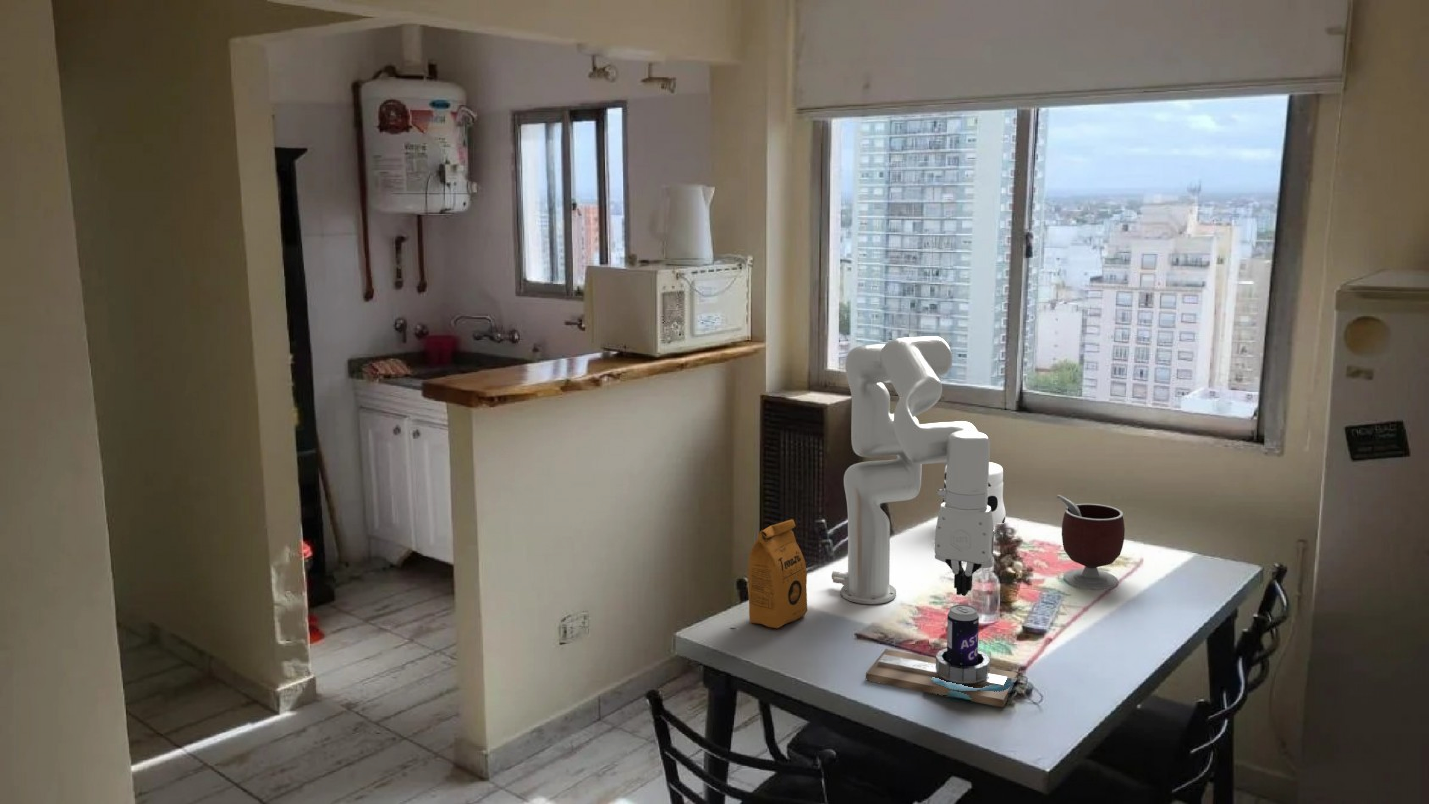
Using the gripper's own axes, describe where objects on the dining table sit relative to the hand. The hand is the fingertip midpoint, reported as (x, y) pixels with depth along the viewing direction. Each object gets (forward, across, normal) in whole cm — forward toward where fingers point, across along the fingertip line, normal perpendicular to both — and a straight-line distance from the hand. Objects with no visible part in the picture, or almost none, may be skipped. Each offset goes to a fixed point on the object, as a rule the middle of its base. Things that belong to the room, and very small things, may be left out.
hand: (962, 592), depth 197 cm
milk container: (+21, -20, +92) cm, 96 cm away
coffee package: (+19, -43, +13) cm, 49 cm away
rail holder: (+17, -3, -1) cm, 17 cm away
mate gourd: (+19, +14, +65) cm, 69 cm away
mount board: (+18, -3, -1) cm, 18 cm away
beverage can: (+15, 0, -1) cm, 15 cm away
